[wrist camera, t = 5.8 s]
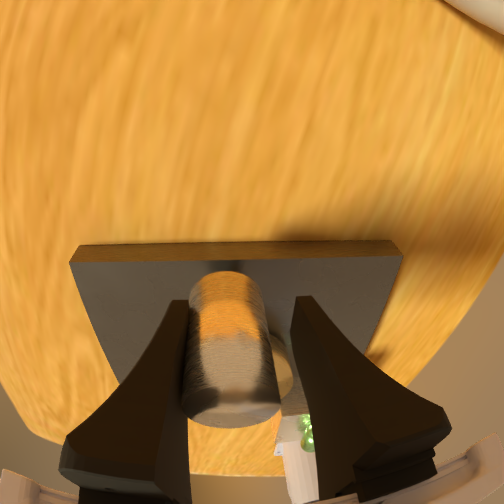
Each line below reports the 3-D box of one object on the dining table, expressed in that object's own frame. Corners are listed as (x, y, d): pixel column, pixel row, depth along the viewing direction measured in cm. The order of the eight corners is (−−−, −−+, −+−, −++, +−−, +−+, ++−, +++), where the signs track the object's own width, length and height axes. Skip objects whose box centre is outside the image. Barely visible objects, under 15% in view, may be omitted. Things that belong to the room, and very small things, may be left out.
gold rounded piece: (286, 380, 20) (305, 473, 14) (199, 389, 20) (201, 483, 14) (289, 236, 14) (335, 369, 8) (153, 250, 13) (120, 388, 8)
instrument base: (335, 388, 25) (352, 449, 20) (136, 396, 23) (129, 460, 18) (391, 240, 16) (447, 315, 11) (78, 245, 15) (32, 330, 10)
